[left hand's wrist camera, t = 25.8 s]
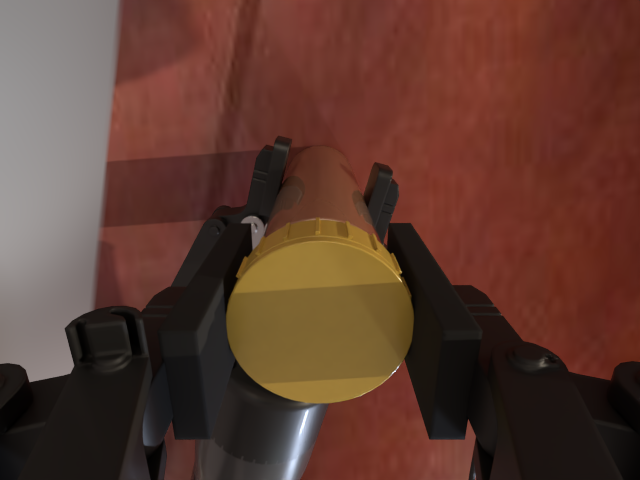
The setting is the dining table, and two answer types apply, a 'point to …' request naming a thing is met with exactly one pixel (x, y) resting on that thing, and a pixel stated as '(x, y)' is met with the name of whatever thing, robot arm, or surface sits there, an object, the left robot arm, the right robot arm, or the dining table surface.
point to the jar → (320, 192)
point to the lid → (320, 312)
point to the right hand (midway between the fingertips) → (333, 154)
